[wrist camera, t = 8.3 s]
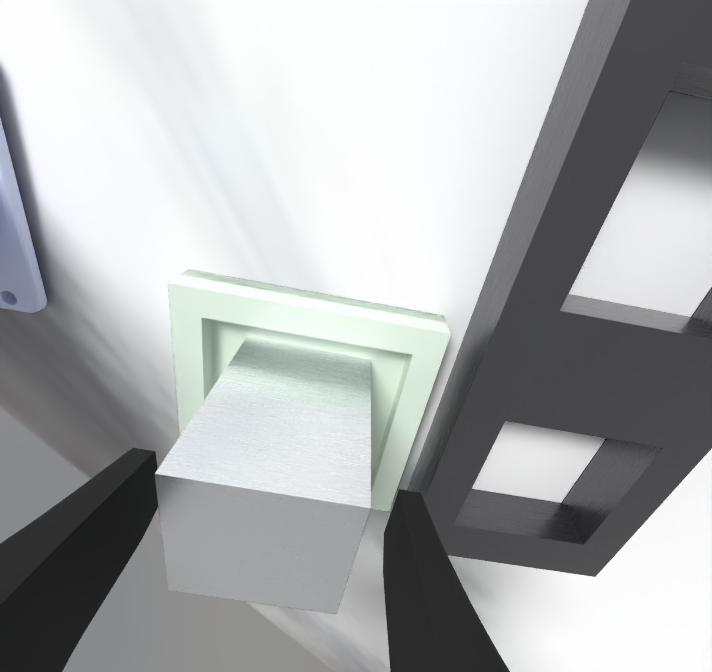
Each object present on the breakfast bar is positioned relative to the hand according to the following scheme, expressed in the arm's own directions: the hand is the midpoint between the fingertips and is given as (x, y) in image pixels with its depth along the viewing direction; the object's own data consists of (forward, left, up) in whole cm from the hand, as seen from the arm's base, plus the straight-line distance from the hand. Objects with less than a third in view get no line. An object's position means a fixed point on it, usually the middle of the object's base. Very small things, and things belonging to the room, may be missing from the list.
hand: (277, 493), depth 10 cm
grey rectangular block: (0, 0, -4) cm, 4 cm away
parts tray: (0, 0, -5) cm, 5 cm away
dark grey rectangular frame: (+10, +4, -5) cm, 12 cm away
